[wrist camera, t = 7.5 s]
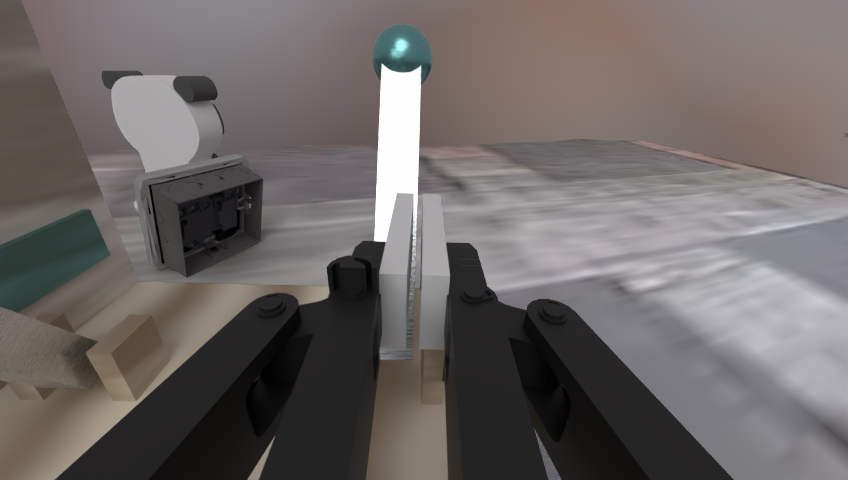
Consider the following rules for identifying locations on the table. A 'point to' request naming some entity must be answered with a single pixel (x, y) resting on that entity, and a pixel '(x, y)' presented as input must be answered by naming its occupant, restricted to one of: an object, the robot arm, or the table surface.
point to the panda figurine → (166, 117)
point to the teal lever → (399, 137)
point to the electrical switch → (199, 212)
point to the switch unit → (134, 298)
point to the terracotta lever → (43, 354)
